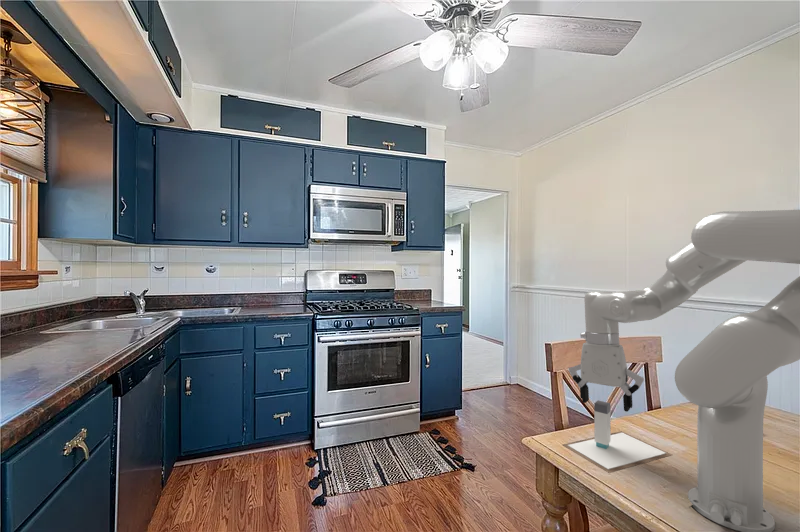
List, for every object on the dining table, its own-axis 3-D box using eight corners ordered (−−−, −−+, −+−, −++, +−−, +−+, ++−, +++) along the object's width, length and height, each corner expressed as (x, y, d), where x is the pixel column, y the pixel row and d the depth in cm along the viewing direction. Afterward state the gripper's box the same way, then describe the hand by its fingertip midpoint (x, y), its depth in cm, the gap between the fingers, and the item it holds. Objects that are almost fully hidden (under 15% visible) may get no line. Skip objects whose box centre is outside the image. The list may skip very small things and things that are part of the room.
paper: (622, 433, 103) (622, 432, 103) (666, 453, 92) (666, 452, 92) (567, 445, 96) (567, 445, 96) (608, 469, 85) (608, 468, 85)
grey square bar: (607, 450, 93) (607, 406, 93) (594, 446, 95) (594, 403, 95) (610, 445, 95) (610, 403, 95) (598, 442, 97) (597, 400, 97)
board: (621, 433, 104) (621, 431, 104) (673, 458, 91) (673, 454, 91) (561, 447, 96) (561, 444, 96) (608, 476, 83) (608, 472, 83)
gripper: (562, 337, 98) (565, 402, 97) (638, 344, 86) (641, 418, 85) (572, 334, 103) (575, 395, 102) (644, 340, 91) (648, 409, 90)
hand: (605, 405), depth 94 cm, fingers open, 9 cm apart
